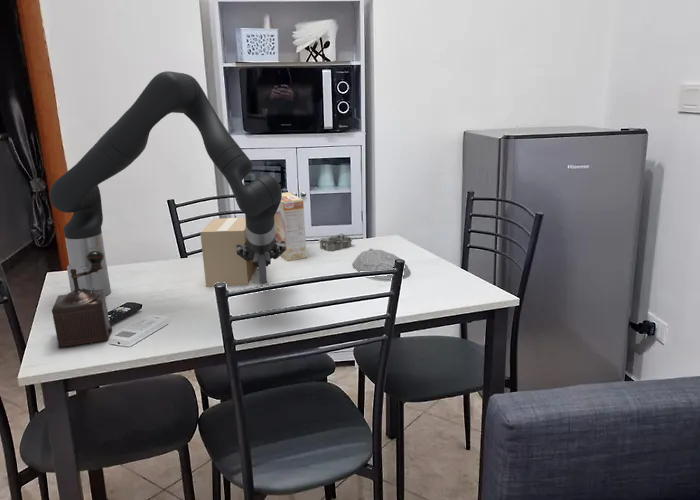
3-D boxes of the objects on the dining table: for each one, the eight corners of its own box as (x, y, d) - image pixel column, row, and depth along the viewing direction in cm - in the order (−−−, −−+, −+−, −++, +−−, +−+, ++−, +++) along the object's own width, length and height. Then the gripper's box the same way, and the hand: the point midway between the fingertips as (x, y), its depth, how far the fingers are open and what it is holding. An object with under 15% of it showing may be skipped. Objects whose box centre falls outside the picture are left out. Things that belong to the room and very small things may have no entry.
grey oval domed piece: (378, 284, 163) (379, 260, 162) (339, 265, 185) (340, 244, 184) (424, 280, 170) (426, 257, 169) (382, 262, 192) (383, 242, 190)
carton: (218, 268, 182) (213, 218, 177) (257, 267, 182) (253, 217, 177) (206, 286, 167) (200, 231, 162) (248, 285, 166) (243, 230, 162)
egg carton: (328, 253, 196) (328, 241, 195) (316, 248, 202) (316, 236, 201) (354, 247, 202) (354, 235, 201) (342, 242, 208) (342, 231, 207)
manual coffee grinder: (111, 341, 133) (99, 265, 128) (57, 349, 130) (43, 272, 125) (114, 316, 147) (104, 247, 142) (66, 323, 144) (53, 253, 139)
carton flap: (258, 266, 182) (254, 219, 177) (264, 265, 182) (261, 218, 178) (260, 289, 162) (256, 236, 158) (267, 288, 162) (263, 235, 158)
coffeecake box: (273, 250, 201) (269, 193, 195) (293, 247, 203) (289, 191, 198) (286, 261, 187) (282, 201, 182) (307, 258, 190) (304, 199, 185)
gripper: (286, 217, 152) (285, 250, 167) (232, 221, 150) (235, 254, 165) (289, 242, 149) (288, 273, 164) (233, 247, 146) (237, 278, 161)
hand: (261, 263), depth 164 cm, fingers closed on carton flap, 2 cm apart
